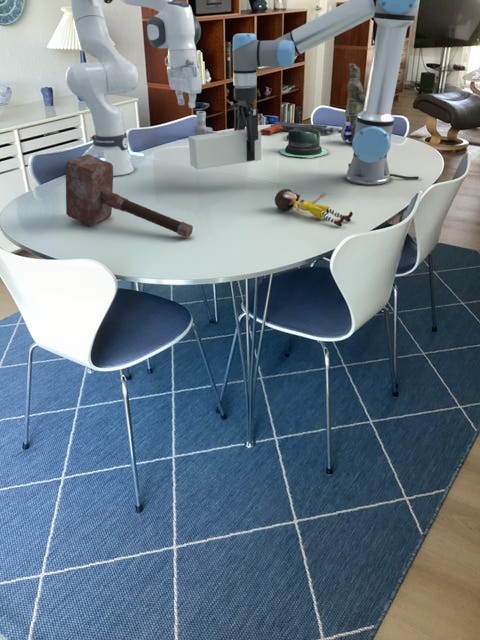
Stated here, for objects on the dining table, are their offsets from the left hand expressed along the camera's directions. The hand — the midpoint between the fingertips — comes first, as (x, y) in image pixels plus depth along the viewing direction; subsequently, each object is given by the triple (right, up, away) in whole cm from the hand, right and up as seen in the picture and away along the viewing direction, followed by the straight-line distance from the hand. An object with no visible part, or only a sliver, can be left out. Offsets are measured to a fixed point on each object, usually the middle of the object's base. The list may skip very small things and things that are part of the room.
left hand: (186, 106), depth 182 cm
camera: (+3, +15, +79) cm, 80 cm away
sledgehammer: (-14, -43, -19) cm, 49 cm away
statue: (+73, +22, +88) cm, 116 cm away
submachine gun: (+44, +19, +84) cm, 96 cm away
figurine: (+39, -39, -13) cm, 56 cm away
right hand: (+20, -14, +11) cm, 26 cm away
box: (+13, -16, +8) cm, 22 cm away
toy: (+69, +8, +65) cm, 95 cm away
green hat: (+44, +1, +54) cm, 70 cm away
